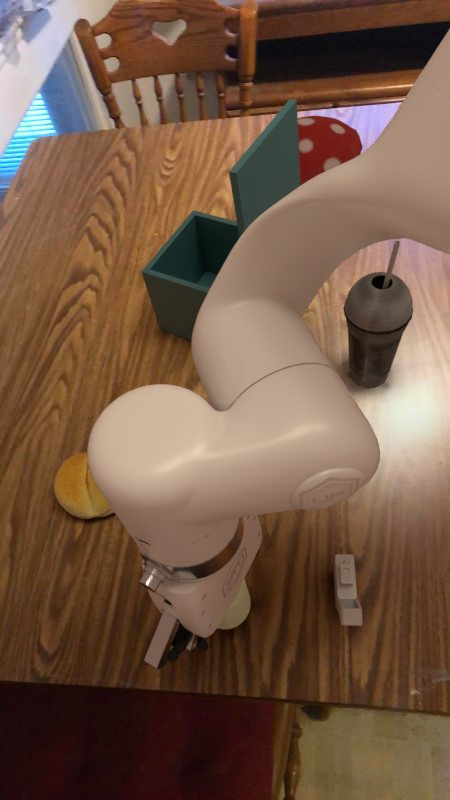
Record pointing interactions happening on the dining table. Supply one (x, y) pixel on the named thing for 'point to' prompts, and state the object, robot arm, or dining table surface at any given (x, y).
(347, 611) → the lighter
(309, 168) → the decorative mushroom
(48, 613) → the dining table surface
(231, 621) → the candle
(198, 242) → the chest
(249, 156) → the lid
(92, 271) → the dining table surface
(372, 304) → the beverage cup
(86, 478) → the bread roll
